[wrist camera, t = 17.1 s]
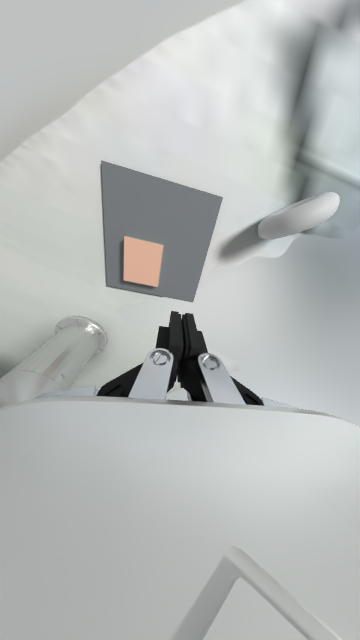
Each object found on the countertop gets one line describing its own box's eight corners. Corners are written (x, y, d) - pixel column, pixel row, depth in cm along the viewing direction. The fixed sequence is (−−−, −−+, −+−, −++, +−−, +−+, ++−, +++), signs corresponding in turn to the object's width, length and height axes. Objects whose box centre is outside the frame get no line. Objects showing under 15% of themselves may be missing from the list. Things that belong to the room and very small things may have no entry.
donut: (302, 197, 25) (368, 176, 16) (301, 219, 27) (361, 210, 18) (246, 223, 27) (279, 216, 18) (248, 242, 28) (280, 244, 20)
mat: (192, 301, 35) (193, 302, 34) (107, 284, 32) (106, 285, 31) (221, 198, 25) (222, 197, 24) (103, 162, 22) (101, 160, 22)
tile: (157, 286, 30) (123, 280, 29) (158, 284, 32) (126, 277, 31) (163, 245, 26) (124, 236, 25) (163, 244, 28) (127, 236, 27)
